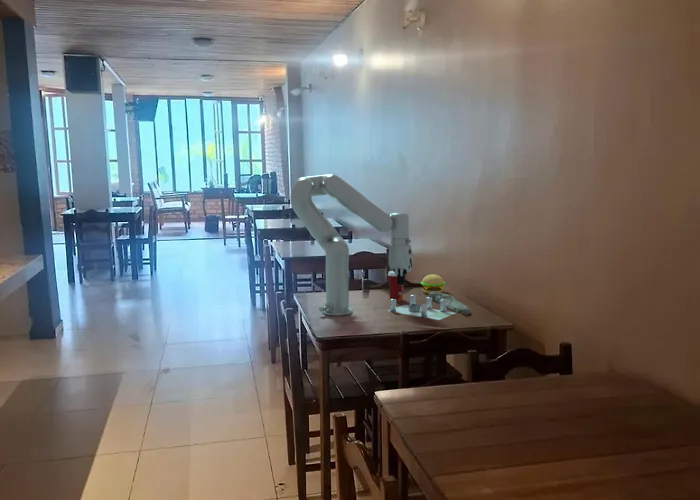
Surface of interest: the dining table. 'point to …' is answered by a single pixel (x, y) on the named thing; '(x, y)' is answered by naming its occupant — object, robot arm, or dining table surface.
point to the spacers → (423, 306)
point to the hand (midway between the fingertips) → (401, 284)
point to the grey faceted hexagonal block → (414, 307)
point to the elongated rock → (450, 302)
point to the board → (430, 313)
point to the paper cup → (395, 287)
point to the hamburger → (432, 283)
